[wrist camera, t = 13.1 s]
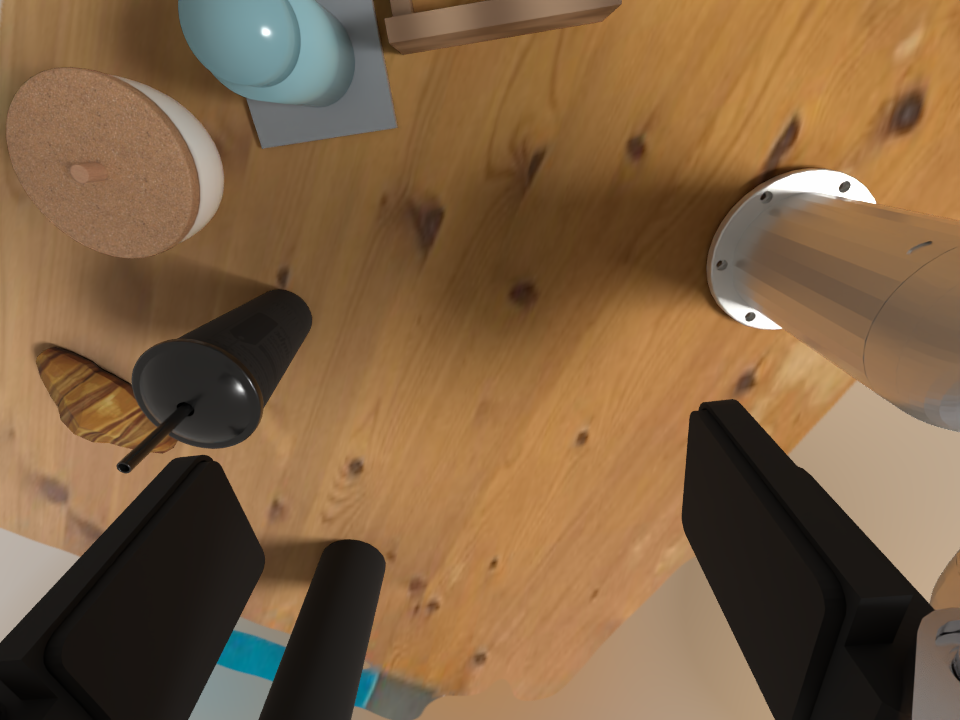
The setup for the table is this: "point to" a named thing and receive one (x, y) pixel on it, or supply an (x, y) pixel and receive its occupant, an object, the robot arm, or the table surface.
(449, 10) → the cradle
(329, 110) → the coaster
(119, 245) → the lidded jar
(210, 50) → the jug
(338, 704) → the wine bottle
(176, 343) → the drinking cup
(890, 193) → the table surface
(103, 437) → the croissant
